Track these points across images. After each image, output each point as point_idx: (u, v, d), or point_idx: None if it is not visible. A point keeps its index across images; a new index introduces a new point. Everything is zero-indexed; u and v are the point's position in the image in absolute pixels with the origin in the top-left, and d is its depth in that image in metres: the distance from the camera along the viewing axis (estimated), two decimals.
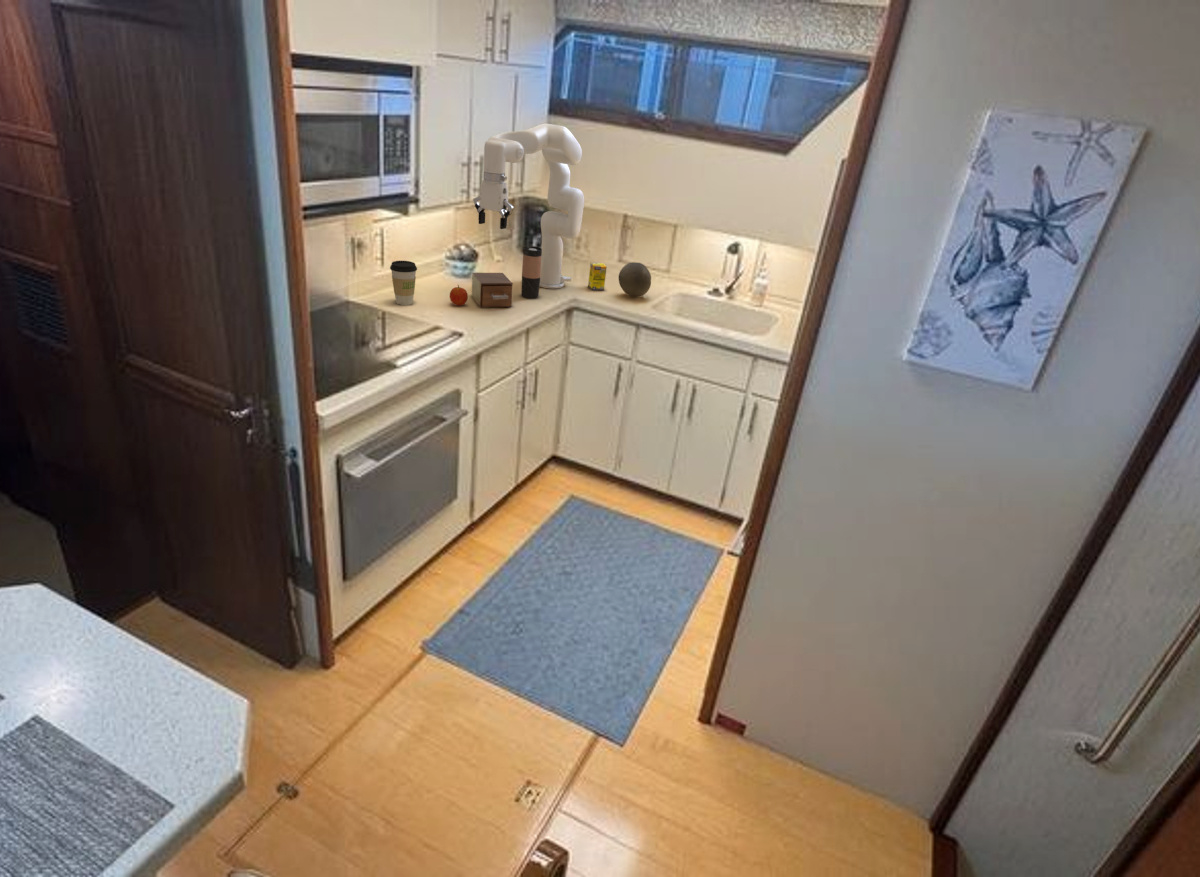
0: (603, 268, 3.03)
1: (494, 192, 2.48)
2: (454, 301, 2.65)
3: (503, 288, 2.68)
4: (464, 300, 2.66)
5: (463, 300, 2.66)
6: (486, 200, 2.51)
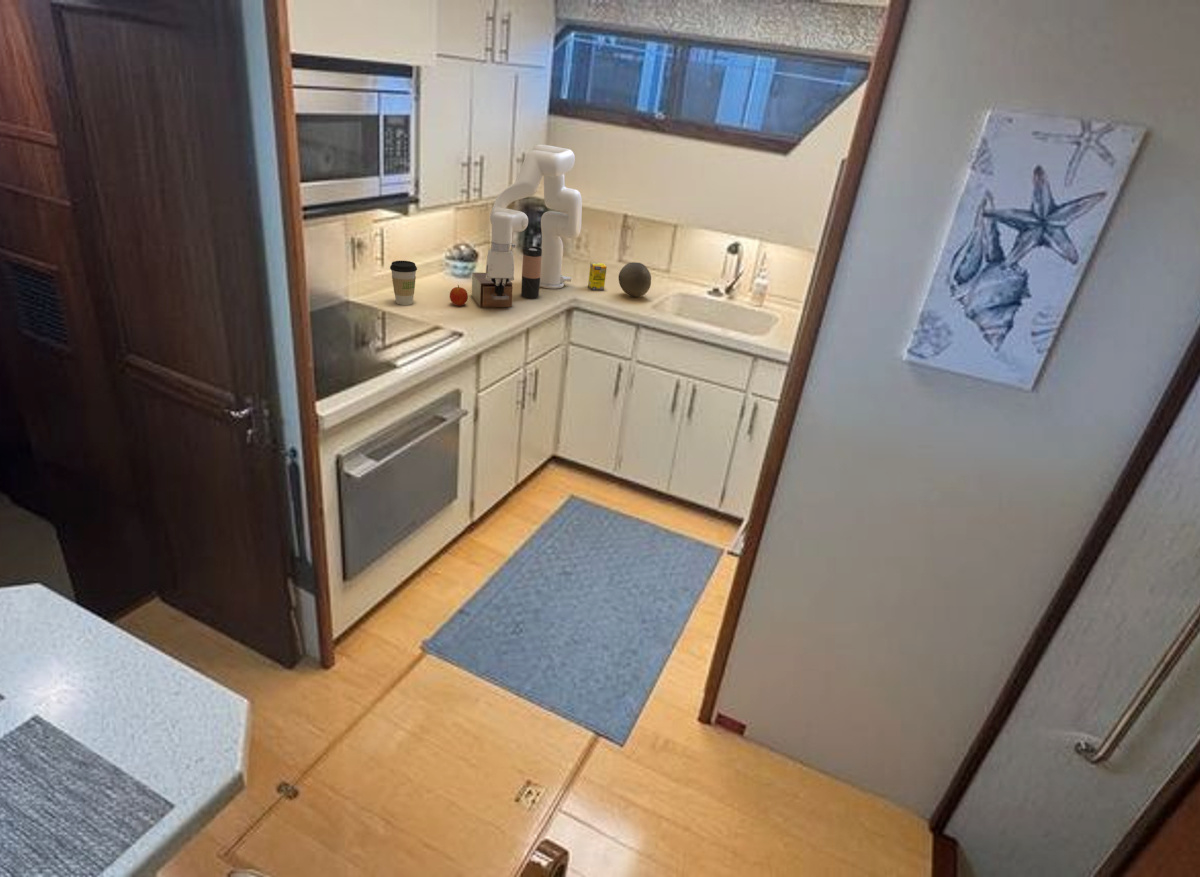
0: (603, 268, 3.03)
1: (507, 261, 2.58)
2: (454, 301, 2.65)
3: None
4: (464, 300, 2.66)
5: (463, 300, 2.66)
6: (498, 269, 2.58)
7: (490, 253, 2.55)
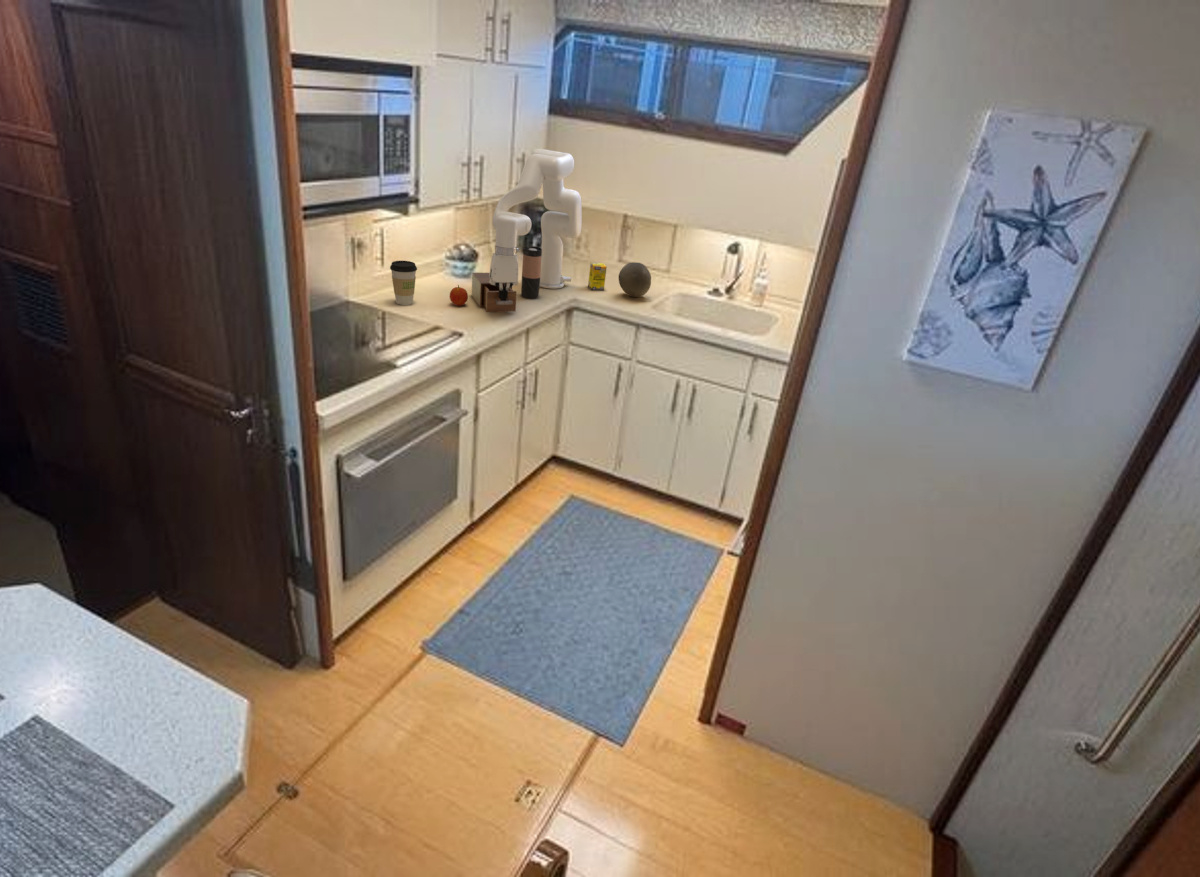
0: (603, 268, 3.03)
1: (512, 265, 2.53)
2: (454, 301, 2.65)
3: None
4: (464, 300, 2.66)
5: (463, 300, 2.66)
6: (502, 274, 2.54)
7: (494, 257, 2.51)
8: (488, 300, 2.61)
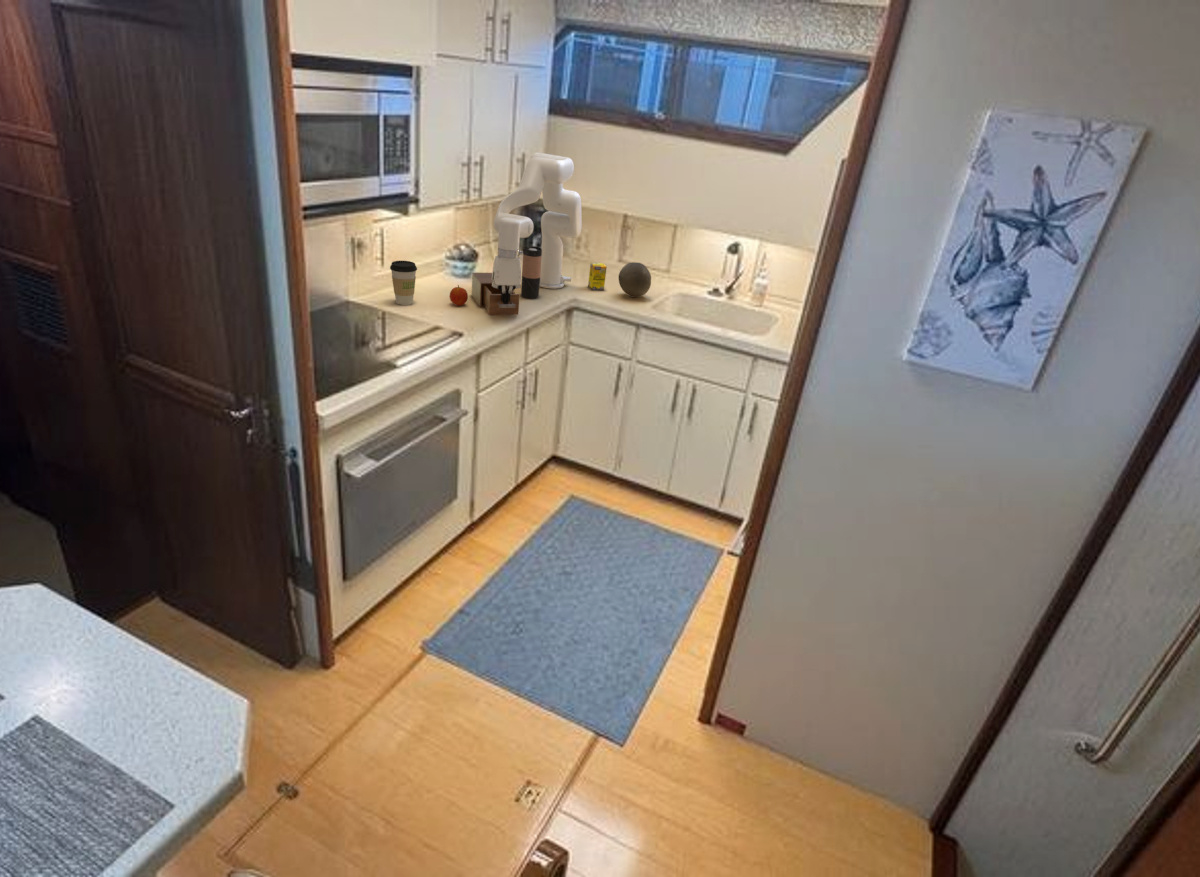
0: (603, 268, 3.03)
1: (514, 268, 2.50)
2: (454, 301, 2.65)
3: (510, 296, 2.59)
4: (464, 300, 2.66)
5: (463, 300, 2.66)
6: (505, 277, 2.50)
7: (497, 260, 2.48)
8: (490, 303, 2.58)
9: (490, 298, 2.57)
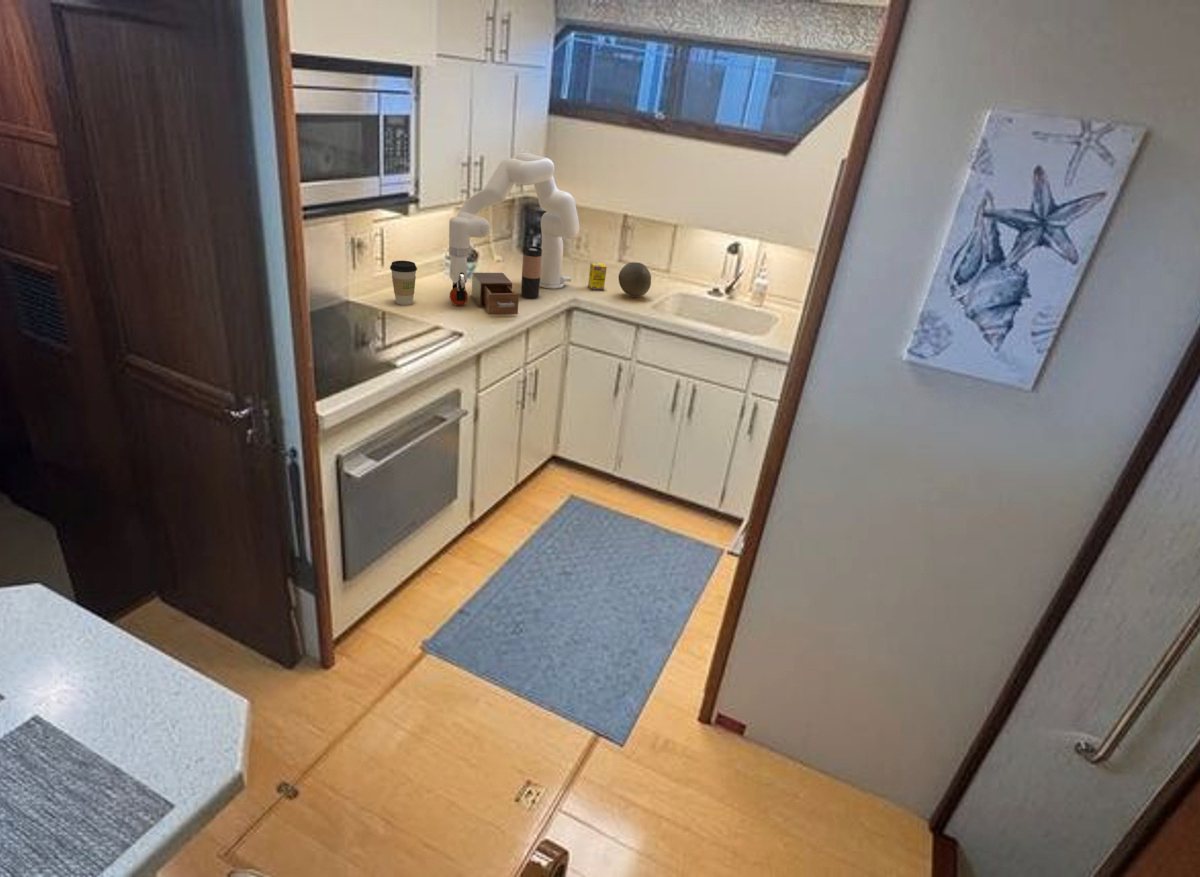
0: (603, 268, 3.03)
1: None
2: (454, 301, 2.65)
3: (510, 295, 2.60)
4: None
5: None
6: None
7: (464, 260, 2.57)
8: (490, 302, 2.58)
9: (489, 297, 2.58)
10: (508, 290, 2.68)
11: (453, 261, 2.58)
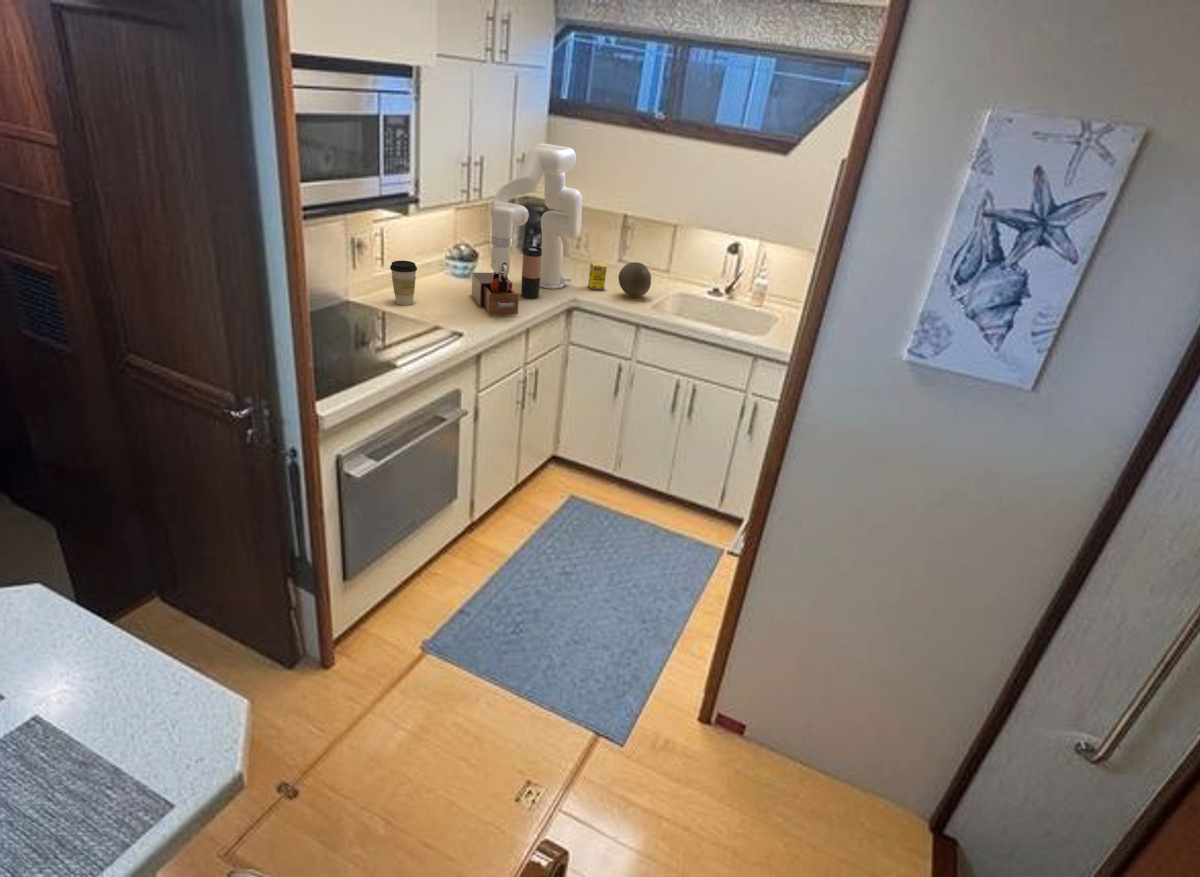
0: (603, 268, 3.03)
1: None
2: (495, 292, 2.62)
3: (510, 295, 2.60)
4: None
5: None
6: None
7: (507, 250, 2.54)
8: (490, 302, 2.58)
9: (489, 297, 2.58)
10: None
11: (496, 251, 2.54)
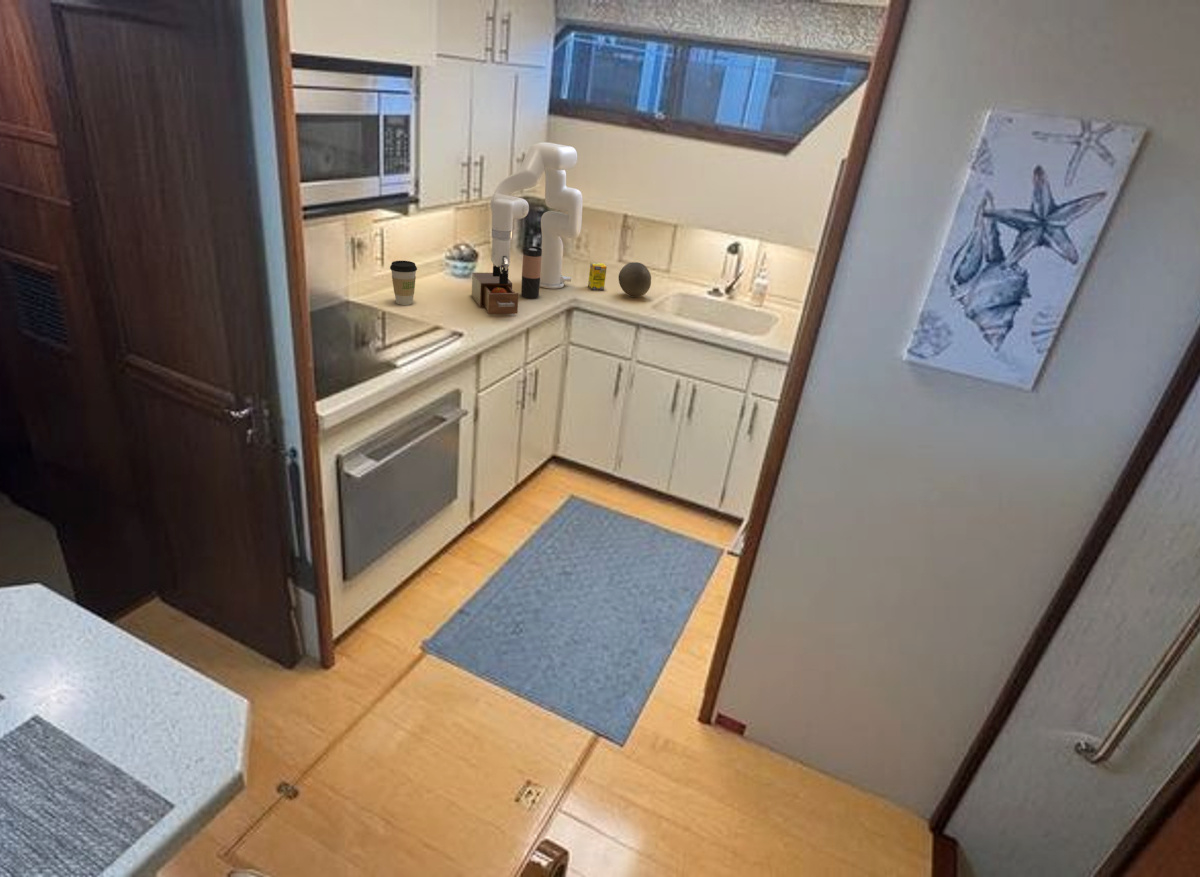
0: (603, 268, 3.03)
1: None
2: None
3: (509, 295, 2.60)
4: None
5: None
6: None
7: (507, 243, 2.52)
8: (490, 302, 2.59)
9: (489, 297, 2.58)
10: (508, 290, 2.69)
11: (496, 244, 2.53)
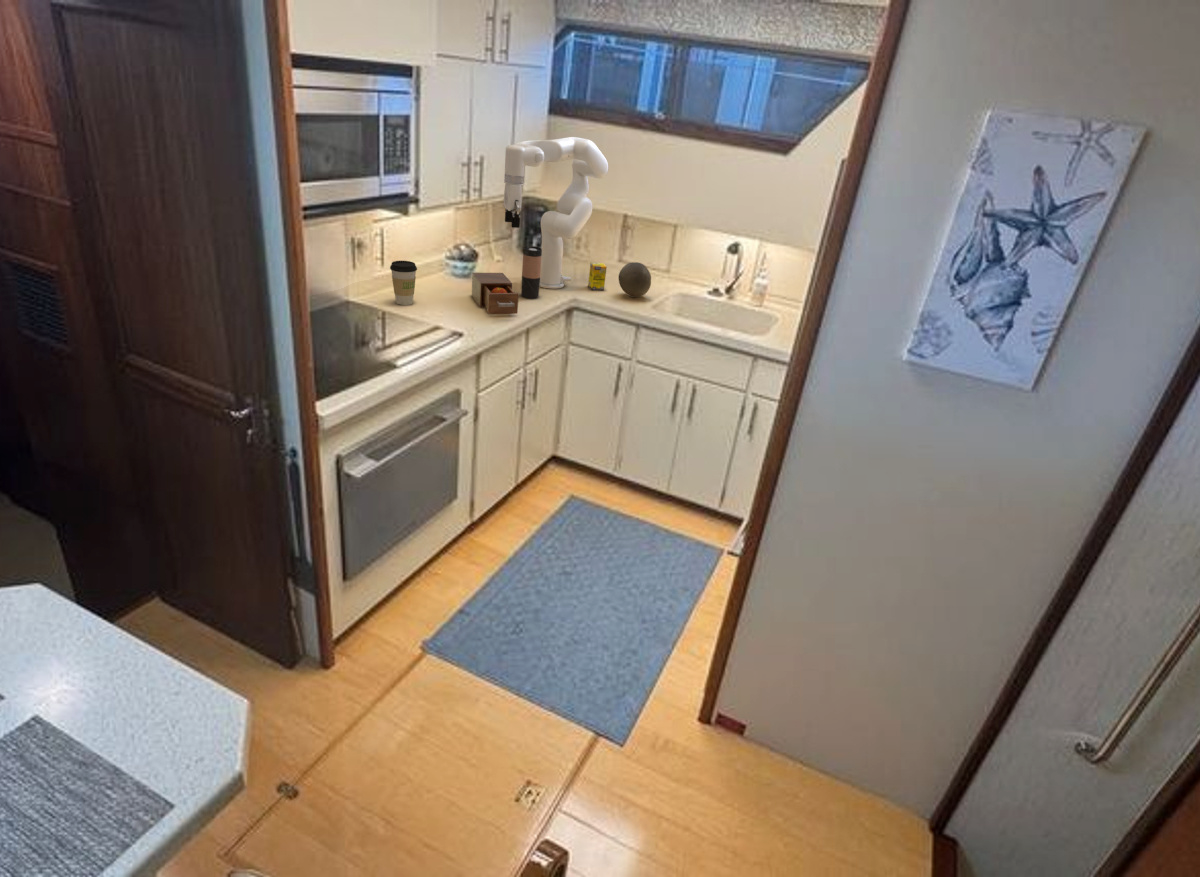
0: (603, 268, 3.03)
1: None
2: None
3: (509, 295, 2.60)
4: None
5: None
6: None
7: (519, 187, 2.66)
8: (490, 302, 2.59)
9: (489, 297, 2.58)
10: (508, 290, 2.69)
11: (508, 189, 2.67)
